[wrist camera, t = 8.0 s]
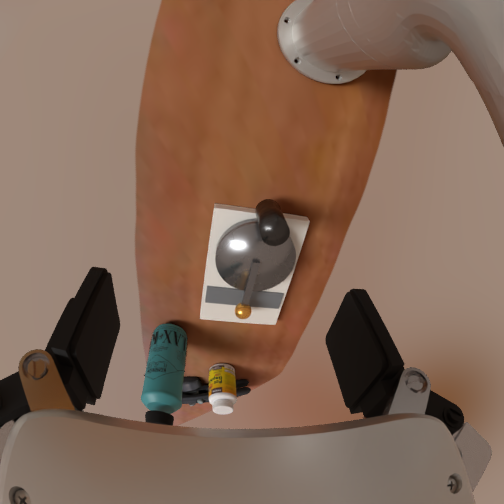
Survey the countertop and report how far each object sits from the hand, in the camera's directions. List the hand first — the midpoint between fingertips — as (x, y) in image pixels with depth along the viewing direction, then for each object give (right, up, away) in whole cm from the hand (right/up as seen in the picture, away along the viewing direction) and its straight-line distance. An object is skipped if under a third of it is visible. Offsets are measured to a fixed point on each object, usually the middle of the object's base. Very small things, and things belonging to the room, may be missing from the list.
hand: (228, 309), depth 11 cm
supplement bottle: (-6, -23, +47) cm, 52 cm away
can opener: (-8, -27, +50) cm, 57 cm away
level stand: (0, -1, +33) cm, 33 cm away
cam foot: (+1, +2, +30) cm, 30 cm away
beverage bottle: (-14, -12, +39) cm, 43 cm away
